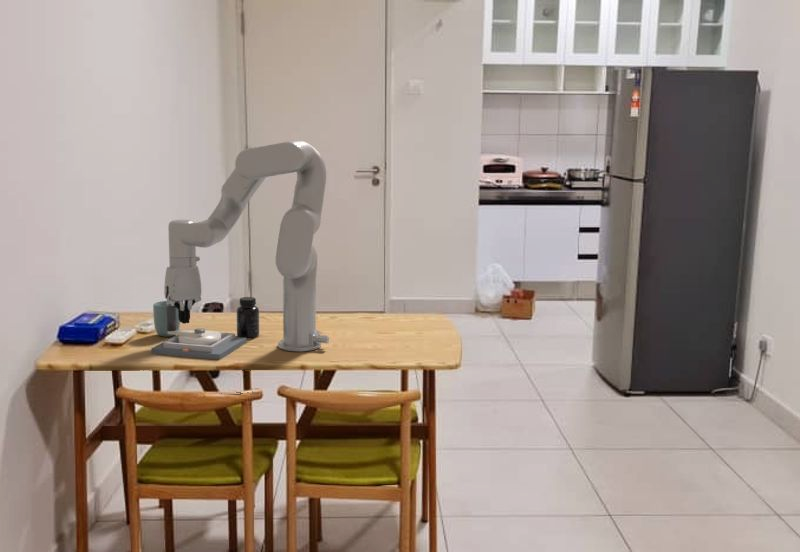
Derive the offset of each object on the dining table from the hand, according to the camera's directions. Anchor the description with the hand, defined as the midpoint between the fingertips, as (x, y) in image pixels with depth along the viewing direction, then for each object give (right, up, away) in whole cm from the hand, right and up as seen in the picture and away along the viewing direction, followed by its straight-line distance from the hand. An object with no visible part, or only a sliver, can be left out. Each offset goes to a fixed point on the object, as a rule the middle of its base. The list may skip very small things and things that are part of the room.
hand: (184, 322), depth 233 cm
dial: (+4, -5, -5) cm, 9 cm away
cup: (-7, -5, +7) cm, 11 cm away
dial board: (+6, -7, -6) cm, 11 cm away
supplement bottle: (+17, -5, +8) cm, 20 cm away
